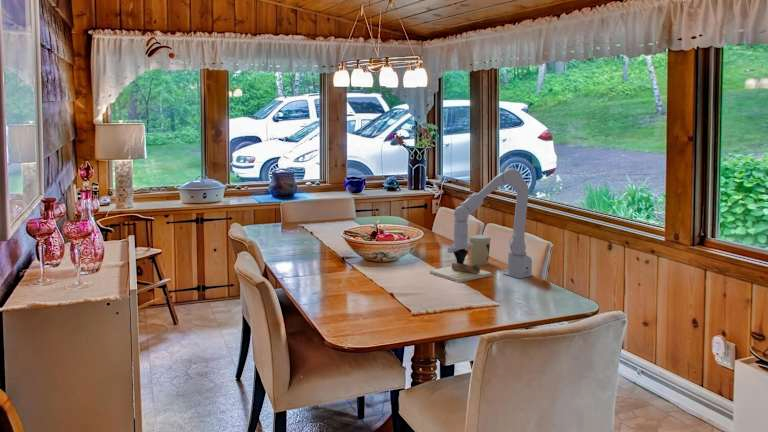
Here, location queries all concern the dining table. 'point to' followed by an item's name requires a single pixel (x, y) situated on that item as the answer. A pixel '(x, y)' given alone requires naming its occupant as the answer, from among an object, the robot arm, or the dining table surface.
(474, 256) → the coffee cup
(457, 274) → the latch board
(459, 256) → the robot arm
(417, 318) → the dining table surface
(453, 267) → the bar
